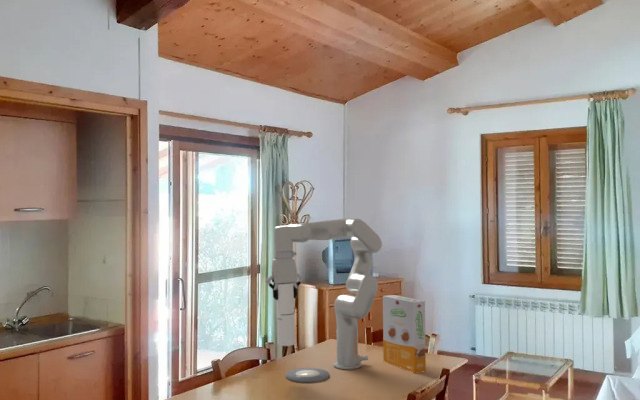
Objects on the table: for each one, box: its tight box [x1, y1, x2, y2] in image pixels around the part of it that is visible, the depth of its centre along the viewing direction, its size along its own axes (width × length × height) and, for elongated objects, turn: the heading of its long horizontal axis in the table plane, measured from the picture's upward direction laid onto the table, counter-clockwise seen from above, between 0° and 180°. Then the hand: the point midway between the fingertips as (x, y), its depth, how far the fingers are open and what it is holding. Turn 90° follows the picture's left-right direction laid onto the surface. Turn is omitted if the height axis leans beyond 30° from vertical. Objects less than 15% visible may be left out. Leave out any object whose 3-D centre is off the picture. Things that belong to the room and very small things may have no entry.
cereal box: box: [382, 294, 427, 374], centre depth 246 cm, size 22×6×30 cm, turn 28°
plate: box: [285, 367, 330, 384], centre depth 231 cm, size 18×18×1 cm
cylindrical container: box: [276, 283, 296, 347], centre depth 229 cm, size 7×7×25 cm
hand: (285, 298), depth 229 cm, fingers closed on cylindrical container, 7 cm apart
